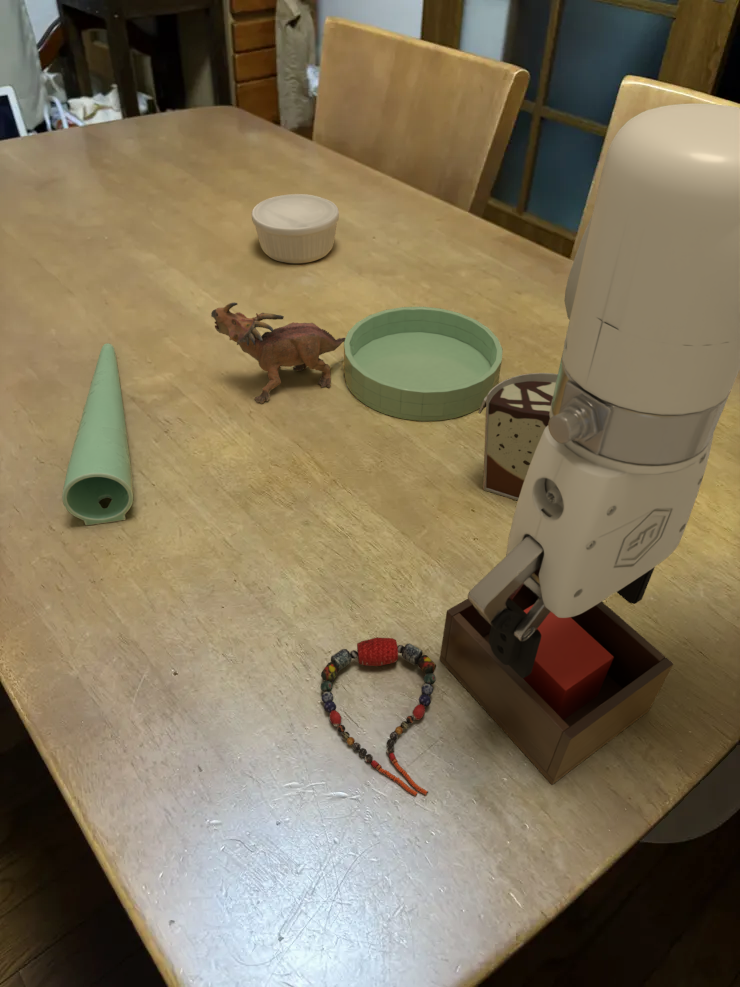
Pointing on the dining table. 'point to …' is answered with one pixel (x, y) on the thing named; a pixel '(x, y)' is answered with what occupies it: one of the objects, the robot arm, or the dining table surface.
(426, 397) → the bowl
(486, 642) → the box
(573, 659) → the block
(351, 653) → the necklace
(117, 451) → the mint green cone
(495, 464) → the cake cutout
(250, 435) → the dining table surface
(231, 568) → the dining table surface
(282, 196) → the ramekin
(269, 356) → the dinosaur figurine
